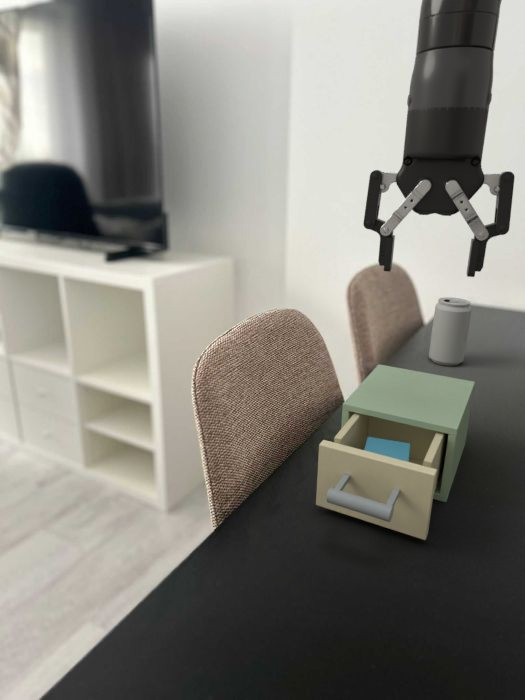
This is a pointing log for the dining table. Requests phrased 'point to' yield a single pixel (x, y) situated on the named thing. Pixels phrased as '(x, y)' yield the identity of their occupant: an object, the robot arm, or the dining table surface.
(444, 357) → the beverage can
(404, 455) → the small sky-blue cube
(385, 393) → the cabinet
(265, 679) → the dining table surface
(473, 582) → the dining table surface
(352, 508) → the drawer
